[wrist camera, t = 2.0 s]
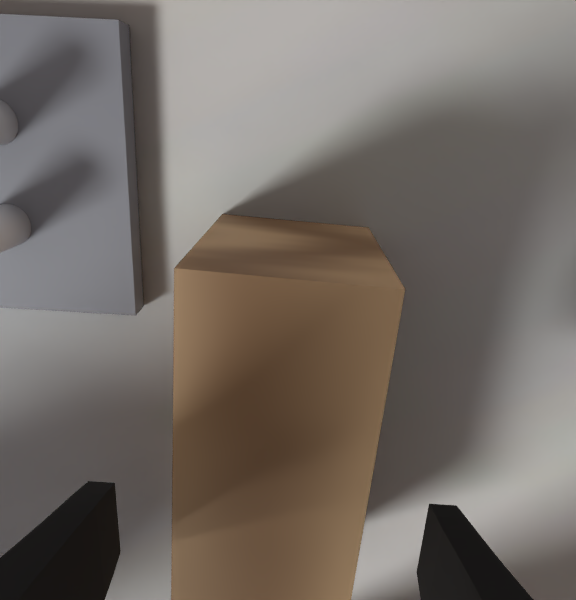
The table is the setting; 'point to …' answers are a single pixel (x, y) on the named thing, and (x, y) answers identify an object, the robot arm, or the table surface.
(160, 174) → the table surface
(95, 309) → the peg plate
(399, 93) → the table surface
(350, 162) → the table surface
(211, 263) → the shelf block
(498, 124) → the table surface
